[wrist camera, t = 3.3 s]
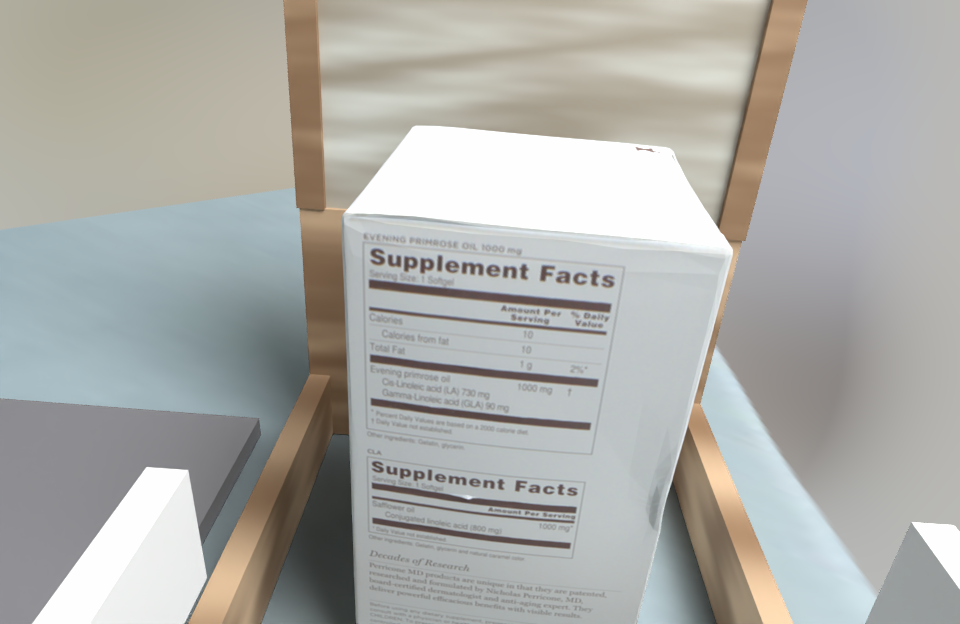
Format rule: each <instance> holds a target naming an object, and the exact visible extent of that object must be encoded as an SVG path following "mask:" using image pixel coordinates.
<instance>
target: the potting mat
mask: <svg viewBox="0 0 960 624" xmlns="http://www.w3.org/2000/svg"><path fill="white" fill-rule="evenodd" d="M260 435H261V432H260V423H259V418H248V417H235V416H222V415H209V414H196V413H183V412H170V411H157V410H144V409H131V408H118V407H105V406H92V405H79V404H66V403H53V402H40V401H27V400H14V399H0V624H32V623H33V622H34V621H35V619H36V618H37V616H38V615H39V614H40V612H41V611H42V610H43V608H44V607H45V606H46V604H47V603H48V601H49V600H50V599H51V597H52V596H53V595H54V593H55V592H56V590H57V589H58V588H59V586H60V585H61V584H62V582H63V581H64V579H65V578H66V577H67V575H68V574H69V573H70V571H71V570H72V569H73V567H74V566H75V564H76V563H77V562H78V560H79V559H80V558H81V556H82V555H83V553H84V552H85V551H86V549H87V548H88V547H89V545H90V544H91V543H92V541H93V540H94V538H95V537H96V536H97V534H98V533H99V532H100V530H101V529H102V527H103V526H104V525H105V523H106V522H107V521H108V519H109V518H110V517H111V515H112V514H113V512H114V511H115V510H116V508H117V507H118V506H119V504H120V503H121V501H122V500H123V499H124V497H125V496H126V495H127V493H128V492H129V490H130V489H131V488H132V486H133V485H134V484H135V482H136V481H137V480H138V478H139V477H140V475H141V474H142V473H143V471H144V470H145V469H146V467H152V468H166V469H180V470H188V472H189V477H190V483H191V489H192V494H193V500H194V506H195V512H196V517H197V523H198V529H199V534H200V540H201V546H202V544H203V542H204V541H205V539H206V537H207V535H208V533H209V531H210V529H211V527H212V525H213V524H214V522H215V520H216V518H217V516H218V514H219V512H220V510H221V508H222V507H223V505H224V503H225V501H226V499H227V497H228V495H229V493H230V492H231V490H232V488H233V486H234V484H235V482H236V480H237V478H238V476H239V475H240V473H241V471H242V469H243V467H244V465H245V463H246V461H247V459H248V458H249V456H250V454H251V452H252V450H253V448H254V446H255V444H256V442H257V441H258V439H259V437H260Z"/></svg>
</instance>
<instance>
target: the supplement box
mask: <svg viewBox="0 0 960 624" xmlns="http://www.w3.org/2000/svg"><path fill="white" fill-rule="evenodd" d="M341 225H342V255H343V276H344V299H345V328H346V353H347V382H348V408H349V441H350V470H351V496H352V525H353V556H354V586H355V613H356V624H637V621H638V617H639V613H640V609H641V606H642V602H643V598H644V594H645V590H646V587H647V583H648V579H649V575H650V571H651V567H652V563H653V559H654V556H655V551H656V547H657V543H658V539H659V535H660V531H661V524H662V516H663V512H664V507H665V503H666V499H667V496H668V492H669V489H670V486H671V483H672V479H673V476H674V472H675V468H676V465H677V461H678V458H679V454H680V451H681V448H682V444H683V441H684V437H685V434H686V430H687V426H688V423H689V419H690V415H691V411H692V408H693V404H694V400H695V396H696V393H697V389H698V385H699V381H700V377H701V374H702V370H703V366H704V362H705V359H706V355H707V351H708V347H709V343H710V340H711V336H712V332H713V328H714V324H715V321H716V317H717V313H718V309H719V305H720V301H721V298H722V294H723V290H724V286H725V282H726V279H727V275H728V271H729V268H730V264H731V260H732V256H733V249H732V248H731V246H730V245H729V243H728V242H727V240H726V238H725V237H724V235H723V234H721V232H720V231H719V229H718V228H717V226H716V225H715V223H714V222H713V220H712V219H711V217H710V216H709V214H708V213H707V211H706V210H705V209H704V207H703V205H702V204H701V202H700V201H699V199H698V197H697V196H696V194H695V192H694V191H693V189H692V188H691V186H690V184H689V183H688V181H687V179H686V178H685V176H684V173H683V171H682V169H681V167H680V165H679V164H678V162H677V159H676V157H675V154H674V152H673V151H672V150H671V149H670V148H666V147H657V146H648V145H638V144H628V143H618V142H607V141H595V140H583V139H572V138H560V137H549V136H538V135H527V134H516V133H505V132H495V131H485V130H476V129H466V128H455V127H442V126H414V127H412V128H411V130H410V131H409V133H408V134H407V135H406V136H405V138H404V139H403V141H402V142H401V143H400V144H399V146H398V147H397V148H396V149H395V151H394V152H393V153H392V154H391V156H390V157H389V158H388V159H387V161H386V162H385V163H384V164H383V166H382V167H381V168H380V169H379V171H378V172H377V174H376V175H375V176H374V177H373V179H372V180H371V181H370V182H369V184H368V185H367V186H366V188H365V189H364V190H363V191H362V193H361V194H360V195H359V196H358V197H357V198H356V200H355V201H354V202H353V203H352V205H351V206H350V207H349V208H348V209H347V210H346V211H345V212H344V214H343V215H342V221H341Z"/></svg>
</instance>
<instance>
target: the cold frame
mask: <svg viewBox="0 0 960 624" xmlns="http://www.w3.org/2000/svg"><path fill="white" fill-rule="evenodd" d="M807 1H808V0H283V2H284V17H285V33H286V48H287V64H288V81H289V95H290V112H291V127H292V142H293V157H294V175H295V191H296V206H297V208H300V222H301V239H302V255H303V271H304V287H305V303H306V320H307V336H308V352H309V368H310V375H309V377H308V379H307V381H306V383H305V385H304V387H303V389H302V391H301V393H300V395H299V397H298V399H297V401H296V404H295V406H294V408H293V410H292V412H291V414H290V416H289V418H288V420H287V422H286V424H285V426H284V428H283V430H282V432H281V434H280V436H279V438H278V440H277V442H276V444H275V447H274V449H273V451H272V453H271V455H270V457H269V459H268V461H267V463H266V465H265V467H264V469H263V471H262V473H261V475H260V477H259V479H258V481H257V483H256V485H255V487H254V490H253V492H252V494H251V496H250V498H249V500H248V502H247V504H246V506H245V508H244V510H243V512H242V514H241V516H240V518H239V520H238V522H237V524H236V526H235V528H234V530H233V533H232V535H231V537H230V539H229V541H228V543H227V545H226V547H225V549H224V551H223V553H222V555H221V557H220V559H219V561H218V563H217V565H216V567H215V569H214V571H213V573H212V576H211V578H210V580H209V582H208V584H207V586H206V588H205V590H204V592H203V594H202V596H201V598H200V600H199V602H198V604H197V606H196V608H195V610H194V612H193V614H192V616H191V618H190V621H189V623H188V624H261V622H262V620H263V617H264V614H265V612H266V609H267V606H268V604H269V601H270V598H271V596H272V593H273V591H274V588H275V585H276V583H277V580H278V577H279V575H280V572H281V569H282V567H283V564H284V561H285V559H286V556H287V554H288V551H289V548H290V546H291V543H292V540H293V538H294V535H295V532H296V530H297V527H298V524H299V522H300V519H301V517H302V514H303V511H304V509H305V506H306V503H307V501H308V498H309V495H310V493H311V490H312V487H313V485H314V482H315V480H316V477H317V474H318V472H319V469H320V466H321V464H322V461H323V458H324V456H325V453H326V450H327V448H328V445H329V443H330V440H331V437H332V435H333V434H346V435H349V408H348V382H347V353H346V328H345V299H344V276H343V255H342V225H341V221H342V215H343V214H344V212H345V211H346V210H347V209H348V208H349V207H350V206H351V205H352V203H353V202H354V201H355V200H356V198H357V197H358V196H359V195H360V194H361V193H362V191H363V190H364V189H365V188H366V186H367V185H368V184H369V182H370V181H371V180H372V179H373V177H374V176H375V175H376V174H377V172H378V171H379V169H380V168H381V167H382V166H383V164H384V163H385V162H386V161H387V159H388V158H389V157H390V156H391V154H392V153H393V152H394V151H395V149H396V148H397V147H398V146H399V144H400V143H401V142H402V141H403V139H404V138H405V136H406V135H407V134H408V133H409V131H410V130H411V128H412V127H414V126H442V127H455V128H466V129H476V130H485V131H495V132H505V133H516V134H527V135H538V136H549V137H560V138H572V139H583V140H595V141H607V142H618V143H628V144H638V145H648V146H657V147H666V148H670V149H671V150H672V151H673V152H674V154H675V157H676V159H677V162H678V164H679V165H680V167H681V169H682V171H683V173H684V176H685V178H686V179H687V181H688V183H689V184H690V186H691V188H692V189H693V191H694V192H695V194H696V196H697V197H698V199H699V201H700V202H701V204H702V205H703V207H704V209H705V210H706V211H707V213H708V214H709V216H710V217H711V219H712V220H713V222H714V223H715V225H716V226H717V228H718V229H719V231H720V232H721V234H723V235H724V237H725V238H726V240H727V242H728V243H729V245H730V246H731V248H732V249H733V256H732V260H731V264H730V268H729V271H728V275H727V279H726V282H725V286H724V290H723V294H722V298H721V301H720V305H719V309H718V313H717V317H716V321H715V324H714V328H713V332H712V336H711V340H710V343H709V347H708V351H707V355H706V359H705V362H704V366H703V370H702V374H701V377H700V381H699V385H698V389H697V393H696V396H695V400H694V404H693V408H692V411H691V415H690V419H689V423H688V426H687V430H686V434H685V437H684V441H683V444H682V448H681V451H680V454H679V458H678V461H677V465H676V468H675V472H674V476H673V479H672V480H673V484H674V487H675V490H676V493H677V497H678V500H679V503H680V506H681V510H682V513H683V516H684V519H685V523H686V526H687V529H688V532H689V536H690V539H691V542H692V545H693V549H694V552H695V555H696V558H697V562H698V565H699V568H700V571H701V575H702V578H703V581H704V584H705V588H706V591H707V594H708V597H709V601H710V604H711V607H712V610H713V614H714V617H715V620H716V623H717V624H793V622H792V620H791V617H790V615H789V613H788V610H787V608H786V605H785V603H784V601H783V598H782V596H781V594H780V591H779V589H778V587H777V584H776V582H775V579H774V577H773V575H772V572H771V570H770V568H769V565H768V563H767V561H766V558H765V556H764V553H763V551H762V549H761V546H760V544H759V542H758V539H757V537H756V535H755V532H754V530H753V527H752V525H751V523H750V520H749V518H748V516H747V513H746V511H745V509H744V506H743V504H742V501H741V499H740V497H739V494H738V492H737V490H736V487H735V485H734V483H733V480H732V478H731V475H730V473H729V471H728V468H727V466H726V464H725V461H724V459H723V457H722V454H721V452H720V449H719V447H718V445H717V442H716V440H715V438H714V435H713V433H712V431H711V428H710V426H709V423H708V421H707V419H706V416H705V414H704V412H703V409H702V407H701V405H700V403H701V399H702V395H703V391H704V387H705V383H706V379H707V375H708V372H709V368H710V364H711V360H712V356H713V352H714V348H715V344H716V340H717V336H718V332H719V329H720V324H721V321H722V317H723V313H724V309H725V305H726V301H727V297H728V294H729V289H730V286H731V282H732V278H733V274H734V270H735V266H736V262H737V258H738V255H739V250H740V247H741V243H742V241H745V240H746V236H747V232H748V229H749V225H750V221H751V217H752V213H753V209H754V205H755V201H756V198H757V194H758V190H759V185H760V182H761V178H762V174H763V170H764V167H765V163H766V159H767V155H768V151H769V147H770V143H771V140H772V136H773V132H774V128H775V124H776V120H777V117H778V113H779V109H780V105H781V101H782V97H783V93H784V89H785V85H786V82H787V77H788V74H789V70H790V66H791V62H792V58H793V54H794V51H795V47H796V43H797V39H798V35H799V32H800V28H801V24H802V20H803V16H804V12H805V8H806V5H807Z"/></svg>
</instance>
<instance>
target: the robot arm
mask: <svg viewBox="0 0 960 624" xmlns="http://www.w3.org/2000/svg"><path fill="white" fill-rule="evenodd" d="M206 579H207V574H206V569H205V563H204V557H203V552H202V546H201V540H200V534H199V529H198V523H197V517H196V512H195V506H194V500H193V494H192V489H191V483H190V477H189V472H188V470H180V469H166V468H152V467H146V469H145V470H144V471H143V473H142V474H141V475H140V477H139V478H138V480H137V481H136V482H135V484H134V485H133V486H132V488H131V489H130V490H129V492H128V493H127V495H126V496H125V497H124V499H123V500H122V501H121V503H120V504H119V506H118V507H117V508H116V510H115V511H114V512H113V514H112V515H111V517H110V518H109V519H108V521H107V522H106V523H105V525H104V526H103V527H102V529H101V530H100V532H99V533H98V534H97V536H96V537H95V538H94V540H93V541H92V543H91V544H90V545H89V547H88V548H87V549H86V551H85V552H84V553H83V555H82V556H81V558H80V559H79V560H78V562H77V563H76V564H75V566H74V567H73V569H72V570H71V571H70V573H69V574H68V575H67V577H66V578H65V579H64V581H63V582H62V584H61V585H60V586H59V588H58V589H57V590H56V592H55V593H54V595H53V596H52V597H51V599H50V600H49V601H48V603H47V604H46V606H45V607H44V608H43V610H42V611H41V612H40V614H39V615H38V616H37V618H36V619H35V621H34V622H33V623H32V624H184V623H185V621H186V619H187V617H188V615H189V613H190V611H191V609H192V607H193V605H194V603H195V601H196V599H197V597H198V595H199V593H200V591H201V589H202V587H203V585H204V583H205V581H206ZM865 624H960V532H959V531H958V529H957V528H956V527H955V526H954V525H944V524H930V523H916V522H915V523H914V522H911V524H910V527H909V529H908V531H907V533H906V535H905V538H904V540H903V542H902V544H901V546H900V548H899V551H898V553H897V555H896V557H895V559H894V562H893V564H892V566H891V568H890V571H889V573H888V575H887V577H886V579H885V581H884V584H883V586H882V588H881V590H880V592H879V595H878V597H877V599H876V601H875V603H874V606H873V608H872V610H871V612H870V614H869V616H868V619H867V621H866V623H865Z"/></svg>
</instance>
